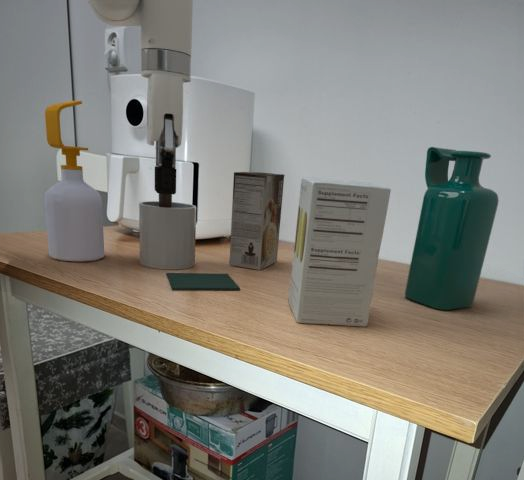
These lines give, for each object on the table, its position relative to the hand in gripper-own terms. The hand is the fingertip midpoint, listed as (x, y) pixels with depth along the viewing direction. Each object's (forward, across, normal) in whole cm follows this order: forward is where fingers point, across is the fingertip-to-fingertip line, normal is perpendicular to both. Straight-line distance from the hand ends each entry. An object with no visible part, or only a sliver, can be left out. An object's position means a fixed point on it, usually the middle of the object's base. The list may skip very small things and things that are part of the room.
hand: (165, 191), depth 82 cm
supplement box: (+12, +30, +18) cm, 37 cm away
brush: (+10, 0, 0) cm, 10 cm away
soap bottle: (+12, -3, -15) cm, 19 cm away
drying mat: (+12, +14, +4) cm, 19 cm away
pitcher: (+12, +24, +39) cm, 48 cm away
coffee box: (+12, 0, +16) cm, 20 cm away
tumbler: (+12, +1, 0) cm, 12 cm away
